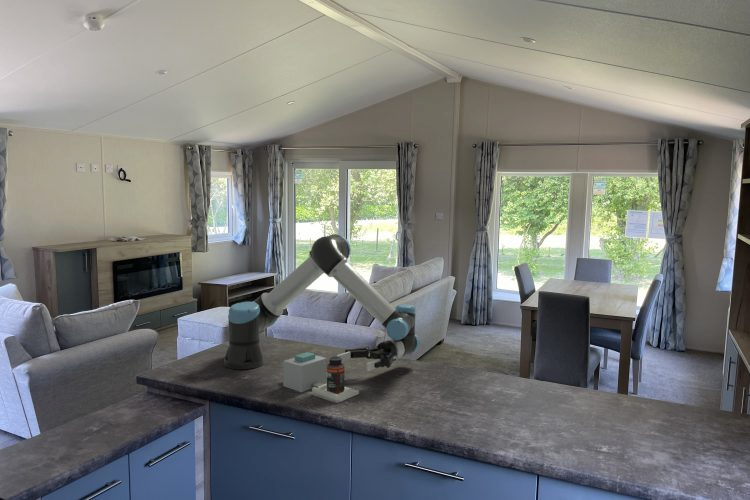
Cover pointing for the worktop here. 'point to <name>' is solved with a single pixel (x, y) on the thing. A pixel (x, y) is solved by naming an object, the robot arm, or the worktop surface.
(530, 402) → the worktop surface
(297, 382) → the white two-part device
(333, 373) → the supplement bottle
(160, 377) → the worktop surface
